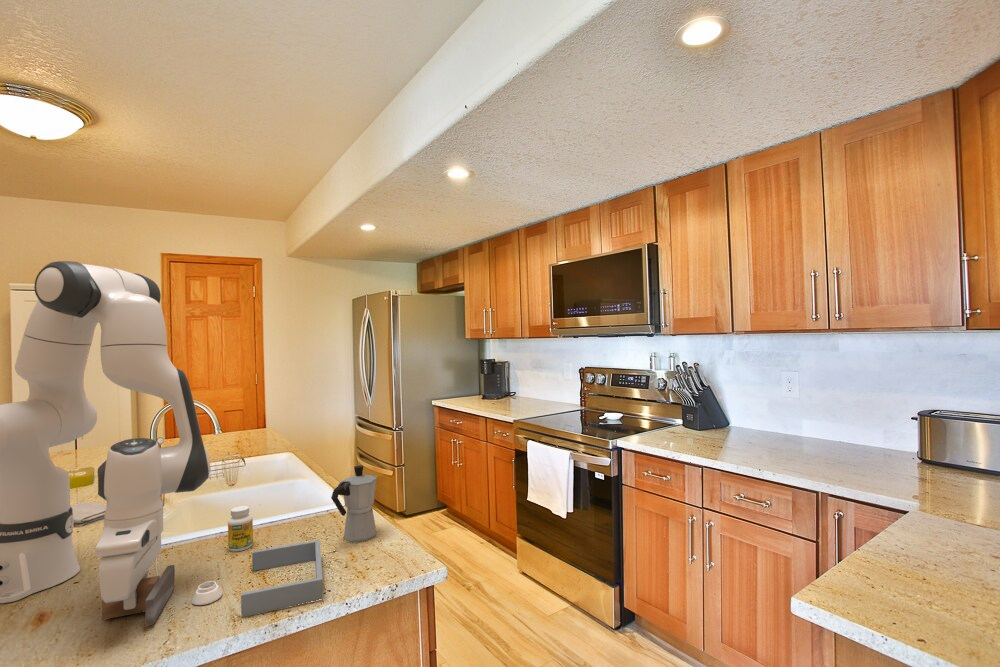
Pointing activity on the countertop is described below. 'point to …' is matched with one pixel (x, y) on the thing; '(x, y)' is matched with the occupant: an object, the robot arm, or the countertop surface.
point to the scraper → (145, 597)
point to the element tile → (81, 477)
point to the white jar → (207, 593)
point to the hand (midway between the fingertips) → (135, 601)
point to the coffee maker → (357, 505)
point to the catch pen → (284, 593)
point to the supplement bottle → (240, 529)
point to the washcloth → (88, 513)
